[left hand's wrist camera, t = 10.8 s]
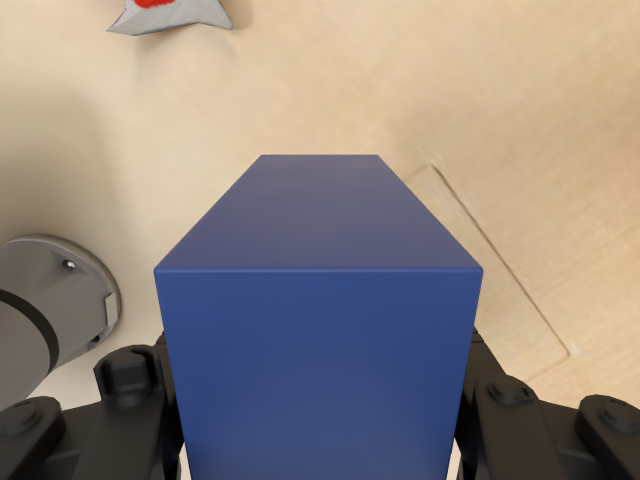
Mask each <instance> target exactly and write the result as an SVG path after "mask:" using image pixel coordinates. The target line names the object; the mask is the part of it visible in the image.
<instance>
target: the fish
mask: <svg viewBox="0 0 640 480" xmlns="http://www.w3.org/2000/svg"><path fill="white" fill-rule="evenodd" d="M198 22H199V23H203V24H208V25H213V26H218V27H222V28H225V29H228V30H231V29H232V28H233V27H234V26H233V24H232V22H231V20H230V18H229V17H228V15H227V14H226V12H225V10H224V8H223V7H222V5H221V3H220V1H219V0H125V11H124V12H123V14H122V15H121V16H120V17H119V18H118V20H117V21H116V22H115V23H114V24H113V25H112V26H111V27H110V28H109V29H107V30H106V31H108V32H114V33H120V34H126V35H132V36H136V35H142V34H147V33H153V32H159V31H164V30H168V29H172V28H175V27H179V26H183V25H188V24H193V23H198Z"/></svg>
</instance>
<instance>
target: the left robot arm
mask: <svg viewBox="0 0 640 480" xmlns="http://www.w3.org/2000/svg"><path fill="white" fill-rule="evenodd" d="M120 309H121V301H120V295H119V291H118V288H117V285H116V283H115V281H114V279H113V277H112V276H111V274H110V273H109V271H108V270H107V268H106V267H105V266H104V265H103V264H102V263H101V262H100V261H99V260H98V259H97V258H96V257H95V256H94V255H92V254H91V253H90V252H88V251H87V250H86V249H84V248H82V247H81V246H79V245H77V244H75V243H73V242H70V241H68V240H65V239H62V238H59V237H55V236H50V235H40V234H35V235H25V236H21V237H17V238H14V239H12V240H10V241H8V242H6V243H4V244H2V245H0V480H181V463H180V458H179V454H180V451H181V448H182V446H183V443H184V437H183V431H182V426H181V420H180V415H179V409H178V404H177V398H176V393H175V387H174V382H173V376H172V371H171V365H170V360H169V354H168V349H167V343H166V338H165V332H164V331H163V332H162V335H160V337H159V338H158V340H157V341H156V345H154V346H153V347H152V346H148V345H131V346H127V347H123V348H120V349H118V350H115V351H113V352H111V353H109V354H108V355H106V356H105V357H103V358H102V359H101V360H99V362H98V363H97V364H96V366H95V367H94V368H93V370H94V374H95V377H96V381H97V385H98V388H99V392H100V395H101V401H100V402H96V403H93V404H90V405H85V406H81V407H77V408H72V409H68V410H64V411H62V409H61V406H60V403H59V402H58V401H57V400H56V399H55V398H53V397H47V396H40V397H33V398H29V399H26V398H27V397H28V396H29V395H30V394H31V393H32V392H33V391H34V390H35V388H36V387H37V386H38V385H39V384H40V383H41V382H42V381H43V380H44V379H45V378H46V377H47V376H48V375H49V373H50V372H51V371H53V370H54V369H56V368H58V367H60V366H62V365H64V364H65V363H67V362H69V361H71V360H73V359H75V358H77V357H79V356H81V355H83V354H85V353H86V352H88V351H90V350H92V349H93V348H95V347H96V346H98V345H99V344H100V343H101V342H102V341H103V340H104V339H105V338H106V337H107V336H108V335H109V333H110V332H111V331H112V330H113V329H114V327H115V325H116V324H117V322H118V319H119V315H120ZM25 399H26V400H25ZM454 437H455V440H456V442H457V445H458V447H459V450H460V452H461V458H460V463H459V468H458V473H457V478H456V480H640V410H639V409H637V408H636V407H634V406H632V405H630V404H628V403H626V402H625V401H622V400H619V399H616V398H613V397H610V396H604V395H597V394H596V395H590V396H586V397H585V398H584V399H582V400H581V402H580V405H579V408H578V409H574V408H570V407H566V406H561V405H557V404H553V403H549V402H545V401H542V400H539V399H538V397H537V395H536V394H535V392H534V391H533V390H532V389H531V388H530V387H529V386H528V385H526V384H525V383H524V382H522V381H520V380H518V379H517V378H515V377H513V376H509V375H506V373H505V372H504V370H503V369H502V367H501V366H500V364H499V363H498V361H497V360H496V358H495V357H494V355H493V354H492V352H491V351H490V349H489V348H488V346H487V345H486V343H484V340H483V339H482V337H481V336H480V334H478V331H477V329H476V328H475V326H474V327H473V333H472V338H471V344H470V350H469V355H468V361H467V366H466V372H465V378H464V383H463V389H462V394H461V400H460V406H459V411H458V417H457V422H456V428H455V434H454ZM453 442H454V439H453ZM452 447H453V445H452ZM451 453H452V450H451Z"/></svg>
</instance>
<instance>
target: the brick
mask: <svg viewBox="0 0 640 480" xmlns="http://www.w3.org/2000/svg"><path fill="white" fill-rule="evenodd" d="M154 277H155V283H156V288H157V294H158V299H159V305H160V310H161V316H162V321H163V327H164V332H165V338H166V343H167V349H168V354H169V360H170V365H171V371H172V376H173V382H174V387H175V393H176V398H177V404H178V409H179V415H180V420H181V426H182V431H183V437H184V442H185V448H186V453H187V459H188V464H189V470H190V475H191V480H446V478H447V473H448V467H449V462H450V456H451V450H452V445H453V439H454V434H455V428H456V422H457V417H458V411H459V406H460V400H461V394H462V389H463V383H464V378H465V372H466V366H467V361H468V355H469V350H470V344H471V338H472V333H473V327H474V322H475V316H476V310H477V305H478V299H479V294H480V288H481V282H482V277H483V268H482V267H481V266H480V265H479V264H478V263H477V261H476V260H475V259H474V258H473V257H472V256H471V255H470V254H469V253H468V252H467V251H466V250H465V249H464V247H463V246H462V245H461V244H460V243H459V242H458V241H457V240H456V239H455V238H454V237H453V236H452V235H451V233H450V232H449V231H448V230H447V229H446V228H445V227H444V226H443V225H442V224H441V223H440V222H439V221H438V219H437V218H436V217H435V216H434V215H433V214H432V213H431V212H430V211H429V210H428V209H427V208H426V207H425V205H424V204H423V203H422V202H421V201H420V200H419V199H418V198H417V197H416V196H415V195H414V194H413V193H412V191H411V190H410V189H409V188H408V187H407V186H406V185H405V184H404V183H403V182H402V181H401V180H400V179H399V177H398V176H397V175H396V174H395V173H394V172H393V171H392V170H391V169H390V168H389V167H388V166H387V165H386V163H385V162H384V161H383V160H382V159H381V158H380V157H379V156H378V155H261V156H260V157H259V158H258V159H257V160H256V161H255V162H254V163H253V164H252V165H251V166H250V167H249V168H248V170H247V171H246V172H245V173H244V174H243V175H242V176H241V177H240V178H239V179H238V180H237V181H236V182H235V183H234V184H233V185H232V186H231V188H230V189H229V190H228V191H227V192H226V193H225V194H224V195H223V196H222V197H221V198H220V199H219V200H218V201H217V202H216V203H215V204H214V205H213V207H212V208H211V209H210V210H209V211H208V212H207V213H206V214H205V215H204V216H203V217H202V218H201V219H200V220H199V221H198V222H197V223H196V225H195V226H194V227H193V228H192V229H191V230H190V231H189V232H188V233H187V234H186V235H185V236H184V237H183V238H182V239H181V240H180V241H179V242H178V244H177V245H176V246H175V247H174V248H173V249H172V250H171V251H170V252H169V253H168V254H167V255H166V256H165V257H164V258H163V259H162V260H161V262H160V263H159V264H158V265H157V266H156V267H155V268H154Z"/></svg>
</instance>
